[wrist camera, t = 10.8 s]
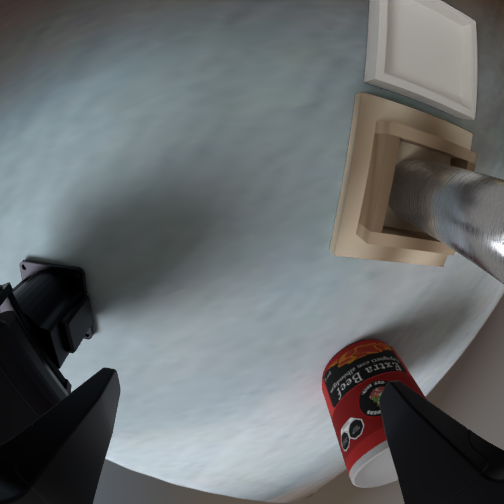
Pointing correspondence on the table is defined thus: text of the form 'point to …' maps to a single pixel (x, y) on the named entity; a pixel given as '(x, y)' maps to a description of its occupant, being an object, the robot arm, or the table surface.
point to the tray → (423, 53)
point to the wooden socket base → (391, 180)
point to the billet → (453, 209)
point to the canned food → (363, 407)
